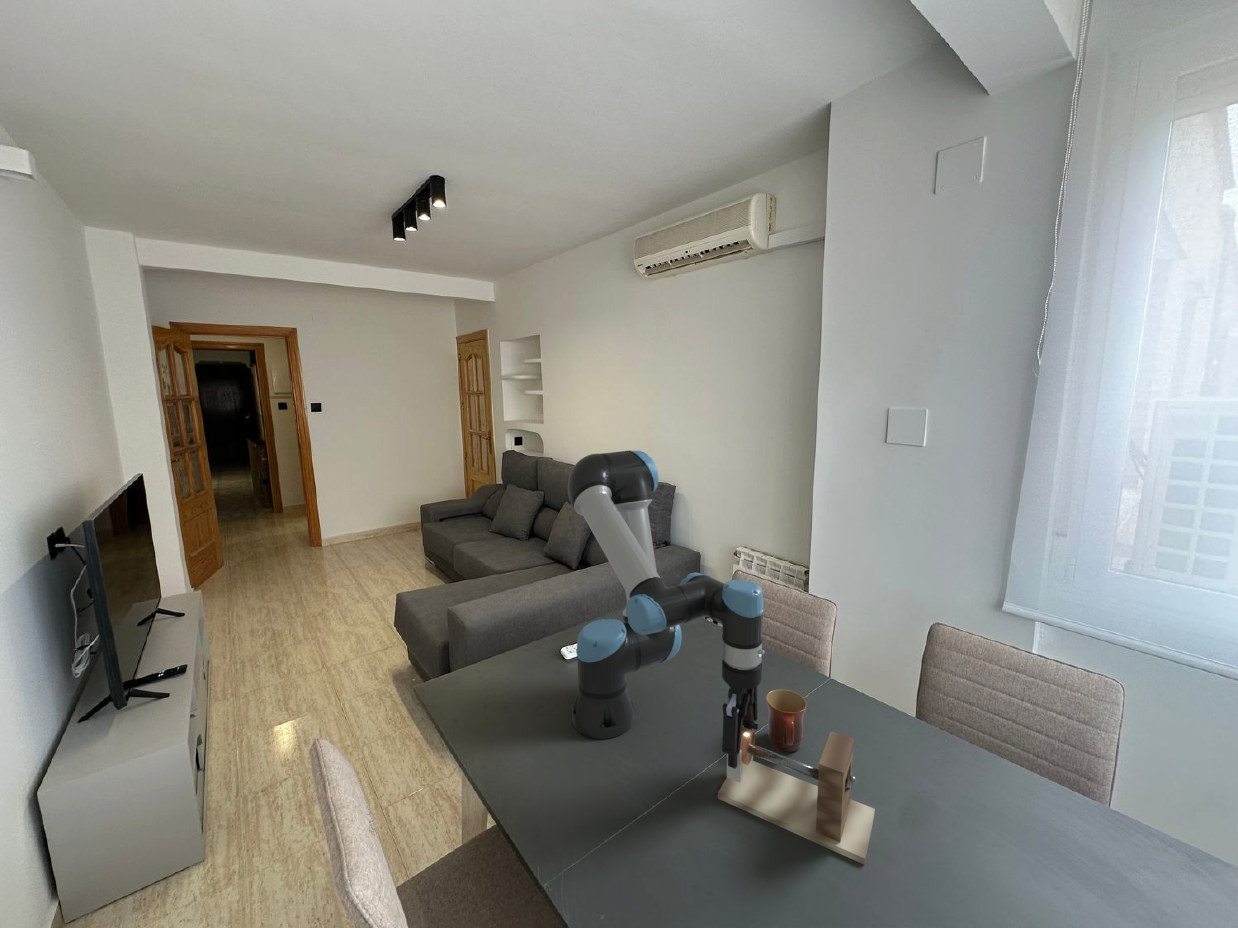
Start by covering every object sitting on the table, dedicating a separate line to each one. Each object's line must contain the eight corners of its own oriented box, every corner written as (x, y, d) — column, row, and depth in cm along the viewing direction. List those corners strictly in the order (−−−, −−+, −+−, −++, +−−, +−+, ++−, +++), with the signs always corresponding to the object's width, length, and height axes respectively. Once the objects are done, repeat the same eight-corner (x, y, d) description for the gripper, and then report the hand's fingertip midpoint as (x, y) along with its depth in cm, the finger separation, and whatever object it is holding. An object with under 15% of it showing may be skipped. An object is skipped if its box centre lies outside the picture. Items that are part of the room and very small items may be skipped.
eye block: (815, 831, 89) (818, 763, 87) (828, 794, 98) (830, 731, 96) (840, 842, 87) (843, 772, 85) (850, 803, 95) (853, 738, 93)
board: (717, 798, 99) (717, 792, 98) (739, 760, 108) (739, 755, 108) (864, 864, 84) (864, 858, 84) (874, 814, 94) (874, 808, 94)
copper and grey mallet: (721, 762, 101) (722, 734, 100) (732, 744, 105) (733, 718, 105) (852, 815, 87) (854, 784, 87) (858, 792, 92) (859, 763, 91)
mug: (763, 727, 119) (764, 687, 117) (802, 732, 117) (803, 691, 116) (767, 764, 107) (768, 719, 106) (811, 769, 105) (812, 724, 104)
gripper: (743, 690, 89) (741, 808, 92) (775, 644, 104) (772, 746, 108) (703, 678, 93) (703, 791, 96) (740, 635, 108) (738, 734, 112)
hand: (740, 767), depth 102 cm, fingers closed on copper and grey mallet, 6 cm apart
